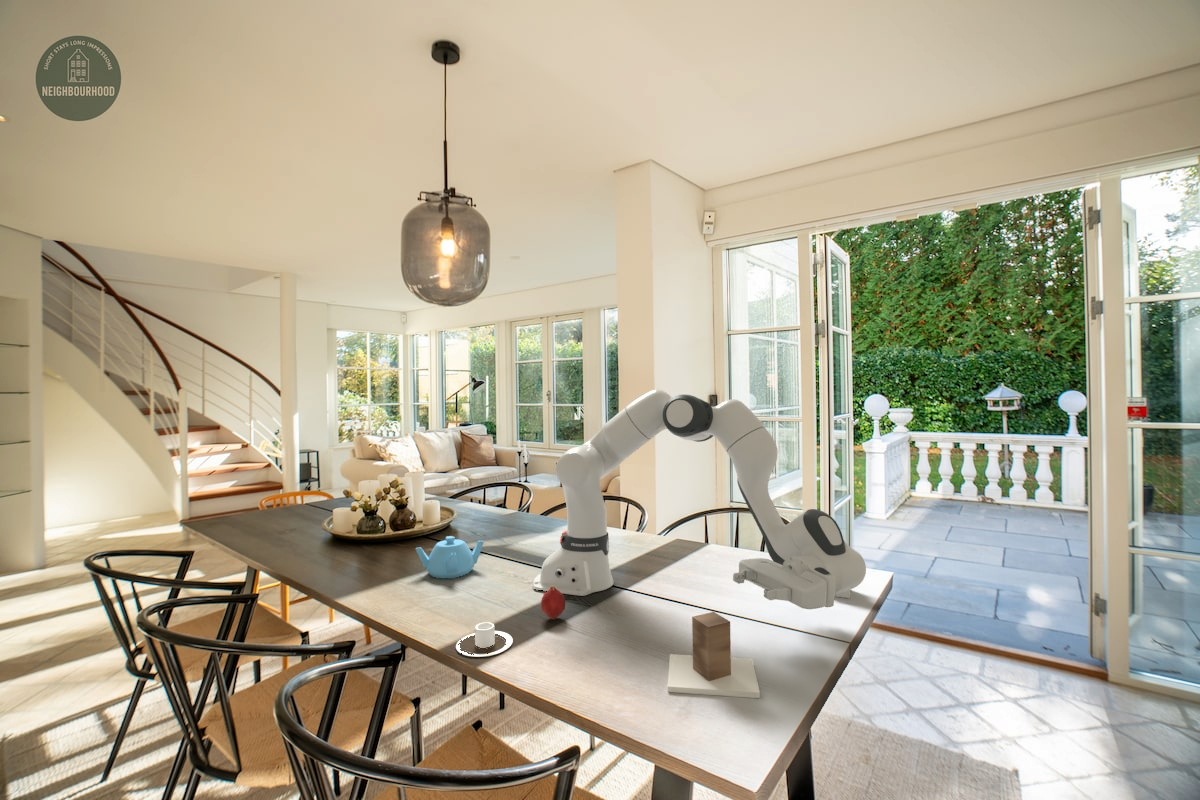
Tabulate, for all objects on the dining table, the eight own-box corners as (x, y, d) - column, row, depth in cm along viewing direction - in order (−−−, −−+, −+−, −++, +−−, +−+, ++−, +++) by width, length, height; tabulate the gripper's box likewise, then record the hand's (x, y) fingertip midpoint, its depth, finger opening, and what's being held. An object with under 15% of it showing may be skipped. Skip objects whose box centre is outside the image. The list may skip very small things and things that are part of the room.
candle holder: (501, 662, 110) (501, 641, 110) (446, 657, 112) (445, 637, 112) (520, 635, 122) (520, 616, 122) (470, 632, 124) (469, 613, 124)
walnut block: (692, 668, 104) (692, 616, 103) (714, 662, 106) (713, 611, 106) (708, 681, 99) (708, 627, 99) (730, 674, 101) (730, 621, 101)
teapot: (487, 568, 168) (487, 533, 168) (454, 584, 155) (453, 546, 154) (449, 562, 175) (448, 528, 175) (414, 576, 161) (413, 540, 161)
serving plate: (667, 691, 98) (667, 686, 98) (669, 659, 110) (669, 654, 110) (760, 698, 95) (759, 692, 95) (751, 663, 107) (751, 658, 107)
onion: (541, 614, 132) (541, 581, 132) (565, 613, 133) (564, 580, 133) (541, 624, 127) (540, 590, 126) (565, 623, 127) (565, 589, 127)
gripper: (768, 548, 125) (718, 555, 119) (840, 578, 107) (786, 588, 101) (767, 575, 125) (718, 584, 120) (840, 610, 107) (785, 621, 101)
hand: (750, 586), depth 110 cm, fingers open, 8 cm apart
